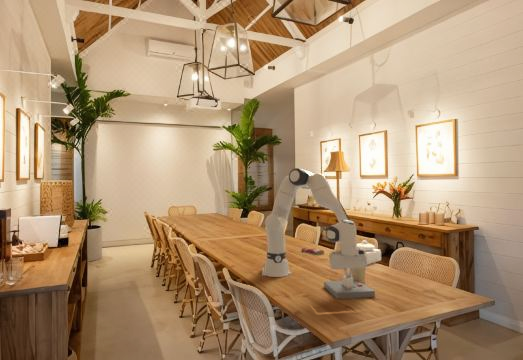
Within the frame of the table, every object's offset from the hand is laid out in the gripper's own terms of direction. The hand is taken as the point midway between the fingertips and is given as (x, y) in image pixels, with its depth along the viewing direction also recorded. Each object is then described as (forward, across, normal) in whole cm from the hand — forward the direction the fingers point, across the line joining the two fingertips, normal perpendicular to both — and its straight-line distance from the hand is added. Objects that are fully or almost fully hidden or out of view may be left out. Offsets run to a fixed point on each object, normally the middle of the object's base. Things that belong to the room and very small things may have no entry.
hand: (348, 276), depth 185 cm
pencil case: (+8, +9, +94) cm, 95 cm away
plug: (+8, 0, 0) cm, 8 cm away
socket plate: (+8, 0, 0) cm, 8 cm away
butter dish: (+8, +39, +64) cm, 76 cm away
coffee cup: (+8, +13, +17) cm, 23 cm away
